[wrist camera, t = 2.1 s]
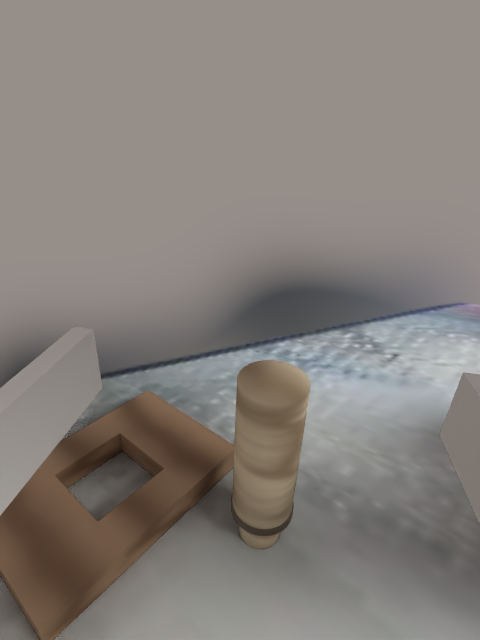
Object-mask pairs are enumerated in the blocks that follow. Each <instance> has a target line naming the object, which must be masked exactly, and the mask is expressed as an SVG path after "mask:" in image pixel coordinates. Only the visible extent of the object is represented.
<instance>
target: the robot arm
mask: <svg viewBox="0 0 480 640" xmlns="http://www.w3.org/2000/svg"><path fill="white" fill-rule="evenodd" d="M101 389H102V382H101V376H100V369H99V363H98V356H97V350H96V343H95V338H94V331H93V329H88V328H80V327H74V328H72V329H71V330H70V331H69V332H67V333H66V334H65V335H64V336H63V337H61V338H60V339H59V340H58V341H57V342H55V343H54V344H53V345H52V346H50V347H49V348H48V349H47V350H46V351H44V352H43V353H42V354H41V355H40V356H38V357H37V358H36V359H35V360H34V361H33V362H31V363H30V364H29V365H28V366H27V367H25V368H24V369H23V370H22V371H20V372H19V373H18V374H17V375H16V376H15V377H13V378H12V379H11V380H10V381H8V382H7V383H6V384H5V385H4V386H2V387H1V388H0V516H1V514H2V513H3V512H4V511H5V509H6V508H7V507H8V506H9V504H10V503H11V502H12V501H13V499H14V498H15V497H16V496H17V494H18V493H19V492H20V491H21V489H22V488H23V487H24V486H25V484H26V483H27V482H28V481H29V479H30V478H31V477H32V476H33V474H34V473H35V472H36V471H37V469H38V468H39V467H40V466H41V464H42V463H43V462H44V461H45V459H46V458H47V457H48V456H49V454H50V453H51V452H52V451H53V449H54V448H55V447H56V446H57V444H58V443H59V442H60V441H61V439H62V438H63V437H64V436H65V434H66V433H67V432H68V431H69V429H70V428H71V427H72V426H73V424H74V423H75V422H76V421H77V419H78V418H79V417H80V416H81V414H82V413H83V412H84V411H85V409H86V408H87V407H88V406H89V404H90V403H91V402H92V401H93V399H94V398H95V397H96V396H97V394H98V393H99V392H100V391H101ZM440 437H441V439H442V441H443V444H444V446H445V448H446V450H447V453H448V455H449V457H450V459H451V462H452V464H453V466H454V468H455V471H456V473H457V475H458V477H459V479H460V482H461V484H462V486H463V488H464V491H465V493H466V495H467V497H468V500H469V502H470V504H471V506H472V509H473V511H474V513H475V515H476V517H477V520H478V522H479V524H480V375H479V374H471V373H463V374H462V377H461V379H460V382H459V385H458V387H457V390H456V393H455V395H454V398H453V401H452V403H451V406H450V408H449V411H448V414H447V416H446V419H445V422H444V424H443V427H442V429H441V432H440Z"/></svg>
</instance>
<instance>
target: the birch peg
mask: <svg viewBox="0 0 480 640" xmlns="http://www.w3.org/2000/svg"><path fill="white" fill-rule="evenodd" d="M310 386H311V384H310V380H309V378H308V376H307V375H306V374H305V373H304V372H303V371H302V370H301V369H299V368H298V367H296V366H294V365H291V364H289V363H286V362H282V361H275V360H263V361H257V362H254V363H251V364H249V365H247V366H245V367H244V368H243V369H242V370H241V371H240V372H239V374H238V377H237V397H236V422H235V446H234V471H233V493H232V497H231V511H232V515H233V517H234V519H235V521H236V523H237V524H238V525H239V531H240V535H241V537H242V539H243V540H244V541H245V543H247V544H248V545H249V546H251V547H253V548H257V549H266V548H269V547H271V546H272V545H274V544H275V543H276V542H277V540H278V538H279V535H280V532H281V531H282V530H284V529H285V528H286V527H287V526H288V524H289V523H290V520H291V518H292V513H293V498H294V492H295V485H296V479H297V472H298V465H299V459H300V452H301V446H302V439H303V433H304V426H305V419H306V413H307V406H308V400H309V393H310Z"/></svg>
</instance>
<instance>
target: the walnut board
mask: <svg viewBox="0 0 480 640" xmlns="http://www.w3.org/2000/svg"><path fill="white" fill-rule="evenodd" d="M121 451H124V452H125V453H126V454H127V455H128V456H130V457H131V458H132V459H133V460H134V461H136V462H137V463H138V464H139V465H140V466H142V467H143V468H144V469H145V470H146V471H148V472H149V473H150V474H151V475H152V476H154V477H153V478H152V479H151V480H149V481H148V482H147V483H146V484H144V485H143V486H142V487H141V488H139V489H138V490H137V491H136V492H134V493H133V494H132V495H131V496H129V497H128V498H127V499H126V500H124V501H123V502H122V503H121V504H119V505H118V506H117V507H116V508H114V509H113V510H112V511H111V512H109V513H108V514H107V515H105V516H104V517H103V518H102V519H100V520H99V521H97V520H96V519H95V518H94V517H93V516H92V515H91V514H90V513H89V512H88V511H87V510H86V509H85V507H84V506H83V505H82V504H81V503H80V502H79V501H78V500H77V499H76V498H75V497H74V496H73V495H72V494H71V492H70V491H69V490H68V489H67V488H68V487H70V486H71V485H73V484H74V483H76V482H77V481H79V480H80V479H81V478H83V477H84V476H86V475H87V474H89V473H90V472H92V471H93V470H95V469H96V468H98V467H99V466H101V465H102V464H103V463H105V462H106V461H108V460H109V459H111V458H112V457H114V456H115V455H117V454H118V453H120V452H121ZM233 467H234V445H232V444H231V443H229V442H228V441H226V440H224V439H223V438H221V437H220V436H218V435H217V434H215V433H214V432H212V431H211V430H209V429H207V428H206V427H204V426H203V425H201V424H200V423H198V422H197V421H195V420H194V419H192V418H190V417H189V416H187V415H186V414H184V413H183V412H181V411H180V410H178V409H177V408H175V407H173V406H172V405H170V404H169V403H167V402H166V401H164V400H163V399H161V398H160V397H158V396H156V395H155V394H153V393H152V392H150V391H149V390H148V391H146V392H144V393H143V394H141V395H139V396H137V397H136V398H134V399H132V400H131V401H129V402H127V403H125V404H124V405H122V406H120V407H119V408H117V409H115V410H113V411H112V412H110V413H108V414H107V415H105V416H103V417H101V418H100V419H98V420H96V421H95V422H93V423H91V424H89V425H88V426H86V427H84V428H82V429H81V430H79V431H77V432H76V433H74V434H72V435H70V436H69V437H67V438H65V439H64V440H62V441H60V442H59V443H58V444H57V446H56V447H55V448H54V449H53V451H52V452H51V453H50V454H49V456H48V457H47V458H46V459H45V461H44V462H43V463H42V464H41V466H40V467H39V468H38V469H37V471H36V472H35V473H34V474H33V476H32V477H31V478H30V479H29V481H28V482H27V483H26V484H25V486H24V487H23V488H22V489H21V491H20V492H19V493H18V494H17V496H16V497H15V498H14V499H13V501H12V502H11V503H10V504H9V506H8V507H7V508H6V509H5V511H4V512H3V513H2V514H1V516H0V575H1V577H2V578H3V580H4V582H5V583H6V585H7V587H8V588H9V590H10V591H11V593H12V595H13V596H14V598H15V600H16V601H17V603H18V604H19V606H20V608H21V609H22V611H23V613H24V614H25V616H26V617H27V619H28V621H29V622H30V624H31V626H32V627H33V629H34V630H35V632H36V634H37V635H38V637H39V639H40V640H54V639H55V638H56V637H57V636H58V635H59V634H60V633H61V632H62V631H63V630H64V629H65V628H66V627H67V626H68V625H69V624H70V623H71V622H72V621H73V620H74V619H75V618H77V617H78V616H79V615H80V614H81V613H82V612H83V611H84V610H85V609H86V608H87V607H88V606H89V605H90V604H91V603H92V602H93V601H94V600H95V599H96V598H97V597H98V596H100V595H101V594H102V593H103V592H104V591H105V590H106V589H107V588H108V587H109V586H110V585H111V584H112V583H113V582H114V581H115V580H116V579H117V578H118V577H119V576H120V575H121V574H123V573H124V572H125V571H126V570H127V569H128V568H129V567H130V566H131V565H132V564H133V563H134V562H135V561H136V560H137V559H138V558H139V557H140V556H141V555H142V554H143V553H144V552H146V551H147V550H148V549H149V548H150V547H151V546H152V545H153V544H154V543H155V542H156V541H157V540H158V539H159V538H160V537H161V536H162V535H163V534H164V533H165V532H166V531H167V530H169V529H170V528H171V527H172V526H173V525H174V524H175V523H176V522H177V521H178V520H179V519H180V518H181V517H182V516H183V515H184V514H185V513H186V512H187V511H188V510H189V509H190V508H192V507H193V506H194V505H195V504H196V503H197V502H198V501H199V500H200V499H201V498H202V497H203V496H204V495H205V494H206V493H207V492H208V491H209V490H210V489H211V488H212V487H213V486H215V485H216V484H217V483H218V482H219V481H220V480H221V479H222V478H223V477H224V476H225V475H226V474H227V473H228V472H229V471H230V470H231V469H232V468H233Z"/></svg>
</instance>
